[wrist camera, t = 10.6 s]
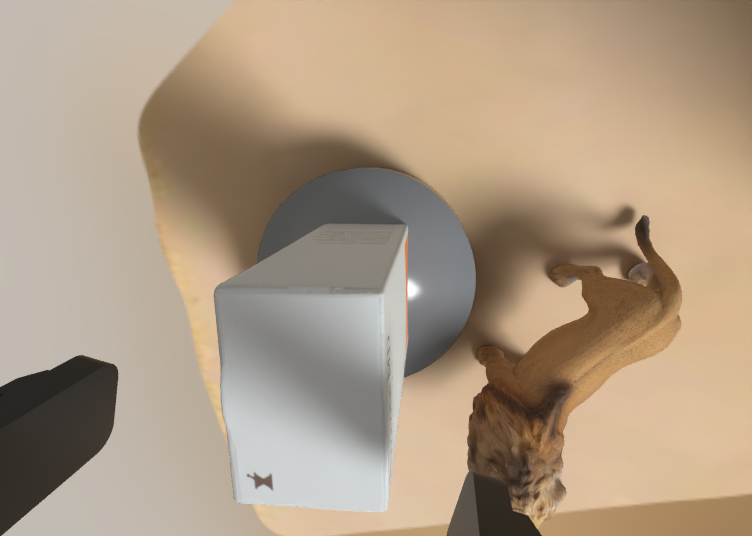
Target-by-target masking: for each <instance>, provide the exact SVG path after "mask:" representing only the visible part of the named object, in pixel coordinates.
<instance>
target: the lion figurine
mask: <svg viewBox="0 0 752 536" xmlns="http://www.w3.org/2000/svg"><path fill="white" fill-rule="evenodd" d="M635 235H636V238H637V242H638V246H639V247H640V249H641V250H642V252H643V254H644V256H645V257H646V259H647V261H648V262H649V263H640V264H638V265H636V266H634V267H633V268H632V269H631V270H630V271H629V274H628V276H629V281H627V280H622V279H617V278H610V277H606V276H604V275H603V273H602V271H601V269H600V268H599V267H597V266H577V265H572V264H563V265H559V266H557V267H555V268H554V269H553V270H552V272H551V279H552V281H553V282H554V283H555V284H557V285H558V286H559V287H566V286H569V285H570V284H572V283H573V282H574V281H576V280H582V297H583V298H584V300H585V301H586V303H587V305H588V307H589V311H588V313H587V314H586V315H585V316H583V317H582V318H580V319H578V320H575V321H572V322H570V323H567V324H565V325H562V326H560V327H558V328H556V329H554V330H552V331H550V332H549V333H548V334H546V335H545V336H543V337H542V338H541V339H540V340H538V341H537V342H536V343H535V344H534V345H533V346H532V347H531V348H530V350H529V351H528V352H527V353H526V354H525V356H524V357H523V358H522V359H521V360H520V362H519V363H518V364H515V363H512V362H508V361H506V359H505V358H504V352H503V351H501V350H499V349H498V348H496V347H493V346H483V347H481V348H480V349H479V350H478V353H477V358H478V360H479V362H480V364H481V365H484V366H485V367H486V376H487V379H488V382H489V383H488V384H487V385H486V386H484V387H483V389H482V391H481V393H478V394H477V396H475V397H474V398H473V413H472V414H471V415H470V417H469V435H468V437H467V443H468V447H469V449H468V461H467V464H468V469H469V471H473V472H476V473H480V474H483V475H486V476H490V477H493V478H497V479H500V480H503V481H505V482H506V483H507V486H508V490H509V495H510V500H511V504H512V509H513V511H516V512H519V513H522V514H526V515H528V516H529V517H530V519H531V520H532V522H533V523H534V525H535V526H536V528H537V529H538V528H539V527H540V526H541V525H542V522H543V521H545V520H548V519H551V518H552V517H553V516H554V515H555V510H556V509H558V507H559V506H560V503H561V501H563V500H564V498H565V496H566V488H565V487H564V486H563V484H562V479H561V476H562V468H563V461H562V457H561V454H562V449H563V446H564V436H563V430H564V428H565V426H566V423H567V419H568V416H569V414H570V413H571V412H572V411H573V410H574V409H575V408H576V407H577V406H578V405H580V404H581V403H583V402H584V401H585V400H586V399H588V398H589V397H590V396H591V395H592V394H593V393H595V392H596V391H597V390H598V389H599V388H600V387H601V386H602V385H603V384H604V383H605V382H606V380H608V379H609V378H610V377H611V376H612V375H613V374H614V373H616V372H617V371H619V370H620V369H621V368H623V367H625V366H627V365H629V364H632V363H635V362H637V361H640V360H643V359H646V358H649V357H651V356H654V355H656V354H658V353H660V352H661V351H663V350H664V349H665V348H667V347H668V346H669V345H670V343H671V342H672V341H673V339H674V338H675V336H676V335H677V333H678V332H679V330H680V328H681V320H680V317H679V315H678V313H679V310H680V307H681V303H682V291H681V287H680V284H679V281H678V279H677V277H676V276H675V274H674V273H673V271H672V270H671V269H670V267H669V266H668V265H667V264H666V263H665V262H664V260H663V259H662V258H661V257H660V256H659V255H658V254H657V253H656V251H655V250H654V248H653V246H652V243H651V241H650V239H649V218H648V217H647V216H645V215H644V216H642V218H641V219H640V221H639V222H638V223H637V224H636V227H635ZM644 285H646V286H644Z"/></svg>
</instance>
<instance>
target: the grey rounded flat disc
mask: <svg viewBox="0 0 752 536" xmlns="http://www.w3.org/2000/svg"><path fill="white" fill-rule="evenodd" d="M324 224H405V225H407V226H408V345H407V353H406V361H405V368H404V377H406V376H409V375H411V374H414V373H416V372H418V371H420V370H422V369H424V368H425V367H427V366H429V365H431V364H432V363H433V362H434V361H436V360H437V359H438V358H440V357H441V356H442V355H443V354H444V353H445V352H446V351H447V350H448V349H449V348H450V347H451V346H452V345H453V343H454V342H455V341H456V339H457V338H458V337H459V335H460V334H461V332H462V330H463V328H464V326H465V325H466V323H467V320H468V318H469V315H470V312H471V310H472V305H473V301H474V297H475V288H476V269H475V263H474V257H473V252H472V249H471V246H470V243H469V240H468V238H467V236H466V233H465V231H464V229H463V227H462V225H461V223H460V221H459V219H458V217H457V215H456V214H455V212H454V211H453V209H452V208H451V206H450V205H449V204H448V203H447V202H446V201H445V200H444V198H443V197H442V196H441V195H439V194H438V193H437V192H436V191H435V190H434V189H433V188H431V187H430V186H428V185H427V184H425V183H424V182H422V181H421V180H419V179H417V178H415V177H413V176H411V175H408V174H406V173H402V172H399V171H396V170H392V169H386V168H378V167H364V168H353V169H345V170H341V171H336V172H332V173H329V174H326V175H323V176H321V177H318V178H316V179H314V180H312V181H310V182H309V183H307V184H305V185H303V186H302V187H301V188H299V189H298V190H297V191H295V192H294V193H293V194H291V195H290V196H289V197H288V198H287V199H286V200H285V201H284V202H283V203H282V205H281V206H280V207H279V208H278V210H277V211H276V212H275V214H274V215H273V217H272V219H271V220H270V222H269V224H268V226H267V228H266V230H265V233H264V235H263V238H262V240H261V244H260V248H259V252H258V261H257V264H258V263H259V262H261V261H263V260H264V259H266V258H268V257H270V256H271V255H273V254H275V253H276V252H278V251H280V250H281V249H283V248H285V247H287V246H289V245H290V244H292V243H294V242H295V241H297V240H299V239H300V238H302V237H304V236H305V235H307V234H309V233H310V232H312V231H314V230H316V229H317V228H319V227H321V226H322V225H324Z"/></svg>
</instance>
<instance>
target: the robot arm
mask: <svg viewBox="0 0 752 536" xmlns="http://www.w3.org/2000/svg"><path fill="white" fill-rule="evenodd" d="M117 382H118V369H117V367H116V366H115V365H114V364H110V363H107V362H104V361H100V360H97V359H93V358H90V357H86V356H83V355H79V356H76V357H74V358H72V359H70V360H68V361H67V362H65V363H63V364H61V365H59V366H57V367H55V368H53V369H52V370H50V371H49V370H45V371H42V372H38V373H35V374H31V375H28V376H24V377H21V378H18V379H15V380H13V381H11V382H9V383H8V384H5V385H4V386H2V387H0V536H1V535H2V534H4V533H5V532H6V531H7V530H8V529H10V528H11V527H12V526H13V525H14V524H15V523H17V522H18V521H19V520H20V519H21V518H22V517H24V516H25V515H26V514H27V513H28V512H29V511H31V510H32V509H33V508H34V507H35V506H37V505H38V504H39V503H40V502H41V501H42V500H44V499H45V498H46V497H47V496H48V495H49V494H51V493H52V492H53V491H54V490H55V489H56V488H58V487H59V486H60V485H61V484H62V483H63V482H65V481H66V480H67V479H68V478H69V477H70V476H72V475H73V474H74V473H75V472H76V471H77V470H79V469H80V468H81V467H82V466H83V465H84V464H85V463H87V462H88V461H89V460H90V459H91V458H93V457H94V456H95V455H96V454H97V453H98V452H99V451H100V450H101V449H102V448H103V446H104V445H105V444H106V442H107V440H108V438H109V436H110V434H111V432H112V429H113V424H114V415H115V405H116V404H115V403H116V394H117ZM447 536H541V534H540V532H539V531H538V529H537V528H536V526H535V525H534V523H533V522H532V520H531V519H530V517H529V516H528V515H526V514H522V513H519V512H516V511H513V509H512V504H511V500H510V495H509V490H508V486H507V483H506V482H505V481H503V480H500V479H497V478H493V477H490V476H486V475H483V474H480V473H476V472H473V471H469V472H468V474H467V476H466V478H465V481H464V484H463V487H462V490H461V493H460V496H459V499H458V502H457V505H456V508H455V511H454V514H453V516H452V519H451V522H450V525H449V528H448V532H447Z"/></svg>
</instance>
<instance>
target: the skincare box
mask: <svg viewBox="0 0 752 536" xmlns="http://www.w3.org/2000/svg"><path fill="white" fill-rule="evenodd" d="M214 303H215V313H216V323H217V333H218V344H219V354H220V364H221V383H220V388H221V405H222V414H223V418H224V421H225V425H226V431H227V440H228V449H229V455H230V466H231V476H232V485H233V494H234V499H235V501H236V502H237V503H243V504H244V503H245V504H261V505H276V506H291V507H304V508H316V509H330V510H343V511H361V512H385V511H386V510H387V508H388V501H389V492H390V485H391V477H392V469H393V461H394V453H395V444H396V435H397V427H398V419H399V411H400V402H401V395H402V387H403V377H404V368H405V361H406V353H407V345H408V226H407V225H405V224H324V225H322V226H321V227H319V228H317V229H316V230H314V231H312V232H310V233H309V234H307V235H305V236H304V237H302V238H300V239H299V240H297V241H295V242H294V243H292V244H290V245H289V246H287V247H285V248H283V249H281V250H280V251H278V252H276V253H275V254H273V255H271V256H270V257H268V258H266V259H264V260H263V261H261V262H259V263H258V264H256V265H254V266H252V267H250V268H249V269H247V270H245V271H243V272H241V273H239V274H238V275H236V276H234V277H232V278H230V279H228V280H227V281H225V282H223V283H221V284H219V285H218V286H217V287H216V288H215V291H214Z"/></svg>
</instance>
